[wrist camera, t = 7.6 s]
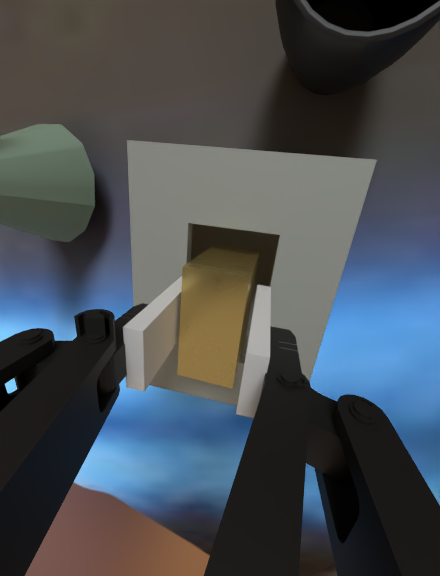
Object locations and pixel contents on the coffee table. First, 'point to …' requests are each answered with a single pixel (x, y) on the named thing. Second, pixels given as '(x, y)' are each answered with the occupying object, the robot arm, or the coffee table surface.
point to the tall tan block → (215, 313)
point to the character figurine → (45, 182)
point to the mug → (350, 37)
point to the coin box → (245, 233)
